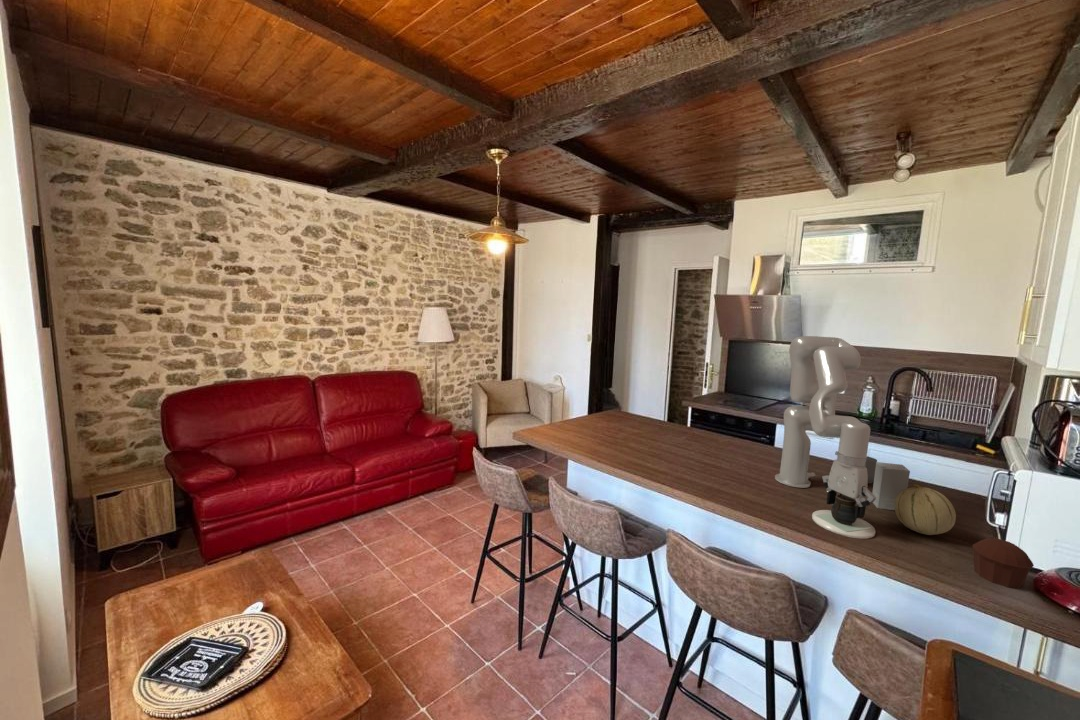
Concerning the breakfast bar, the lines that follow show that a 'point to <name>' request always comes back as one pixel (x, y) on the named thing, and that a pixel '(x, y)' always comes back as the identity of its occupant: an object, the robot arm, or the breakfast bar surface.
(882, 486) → the skincare box
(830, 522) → the stand
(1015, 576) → the muffin
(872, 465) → the cup
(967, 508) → the breakfast bar surface
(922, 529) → the cantaloupe
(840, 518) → the mate gourd
